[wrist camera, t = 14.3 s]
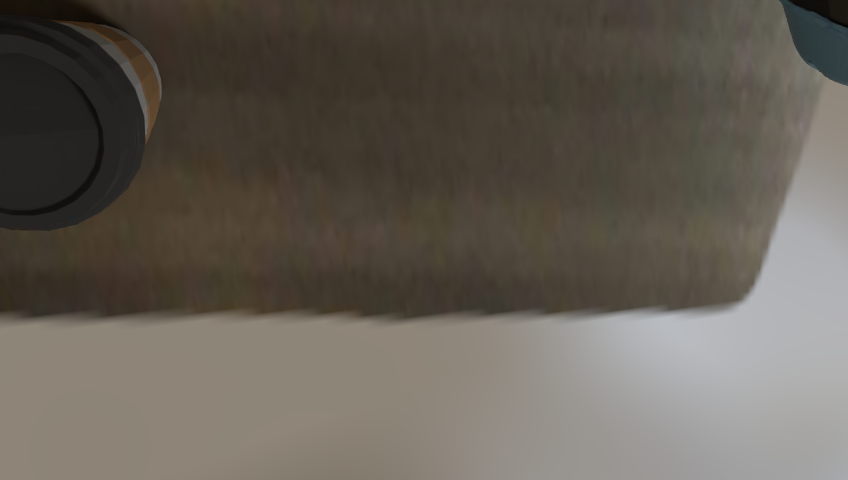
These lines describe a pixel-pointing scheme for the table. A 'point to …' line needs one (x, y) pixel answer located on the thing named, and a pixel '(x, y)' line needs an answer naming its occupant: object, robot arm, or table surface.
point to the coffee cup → (70, 119)
